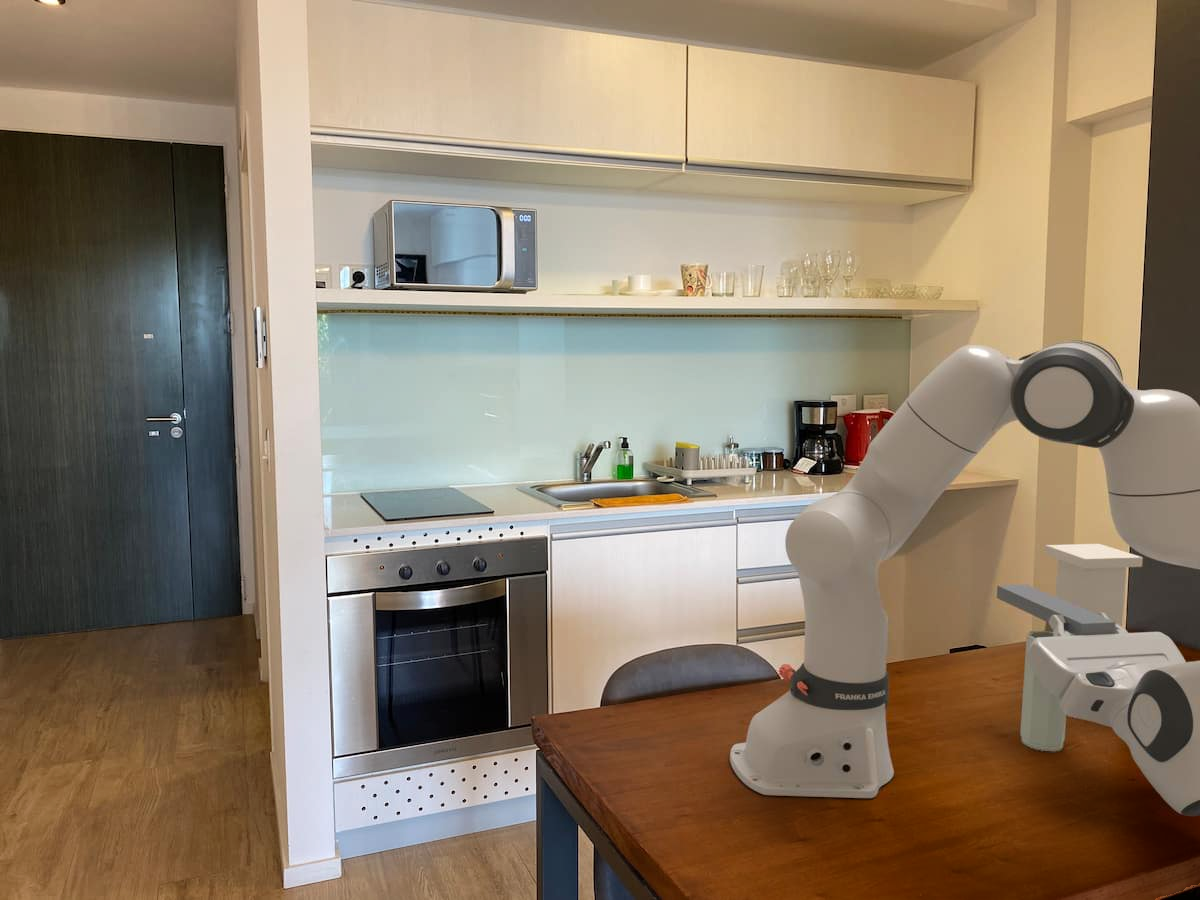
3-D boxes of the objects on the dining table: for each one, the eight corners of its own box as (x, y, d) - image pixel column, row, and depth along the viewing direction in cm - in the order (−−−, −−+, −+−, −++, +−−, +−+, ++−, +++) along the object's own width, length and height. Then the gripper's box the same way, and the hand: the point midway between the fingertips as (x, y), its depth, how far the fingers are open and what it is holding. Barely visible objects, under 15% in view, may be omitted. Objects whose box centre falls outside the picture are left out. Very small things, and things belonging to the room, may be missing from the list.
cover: (1081, 638, 124) (1082, 623, 124) (996, 598, 144) (997, 585, 143) (1114, 636, 125) (1115, 622, 125) (1026, 596, 144) (1026, 584, 144)
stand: (1073, 718, 146) (1085, 559, 143) (1035, 694, 156) (1045, 545, 153) (1130, 715, 148) (1142, 557, 144) (1088, 691, 157) (1099, 543, 154)
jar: (1036, 753, 133) (1043, 643, 131) (1013, 736, 139) (1019, 631, 137) (1071, 751, 134) (1079, 642, 132) (1047, 734, 140) (1054, 630, 138)
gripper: (1216, 676, 118) (1151, 598, 129) (1071, 684, 115) (1017, 603, 126) (1193, 707, 121) (1132, 629, 132) (1052, 715, 118) (1002, 635, 129)
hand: (1075, 616), depth 129 cm, fingers closed on cover, 5 cm apart
